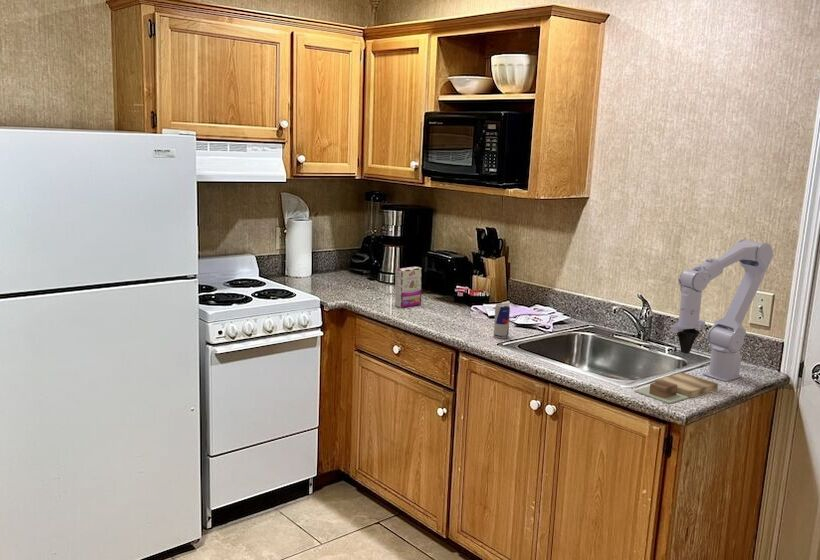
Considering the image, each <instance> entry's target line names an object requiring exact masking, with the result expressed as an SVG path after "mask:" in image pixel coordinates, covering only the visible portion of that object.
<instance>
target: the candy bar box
mask: <svg viewBox="0 0 820 560" xmlns="http://www.w3.org/2000/svg"><path fill="white" fill-rule="evenodd" d="M422 269H423V267H420V266H409V267H401V268H400V267H399V268H395V273H394V276H395V277H394V278H395V279H394V280H395V283H394V286H395V287H394V289H395V290H394V291H395V292H394V307H397V308H400V309H405V308H410V307H416V306H421V305H422V279H423V278H422V274H423V270H422Z"/></svg>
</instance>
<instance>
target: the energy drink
mask: <svg viewBox="0 0 820 560" xmlns="http://www.w3.org/2000/svg"><path fill="white" fill-rule="evenodd" d="M494 308H495V309H494V323H493V324H494V325H493V328H494V329H493V337H494V338H495V339H500V340H504V339H508V337H509V333H510V332H509V331H510V329H509V328H510V313H511V312H510V310H511V307H510V305H509V304H506V303H497V304H495V307H494Z"/></svg>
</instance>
